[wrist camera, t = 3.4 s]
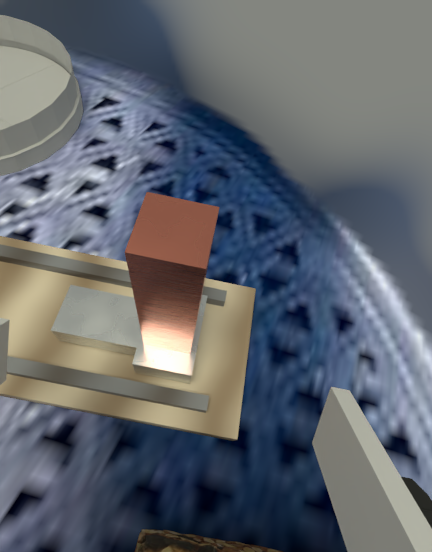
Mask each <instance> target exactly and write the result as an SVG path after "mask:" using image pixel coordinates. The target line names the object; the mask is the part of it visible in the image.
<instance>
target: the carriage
mask: <svg viewBox="0 0 432 552" xmlns="http://www.w3.org/2000/svg"><path fill="white" fill-rule="evenodd" d="M218 211H219V207H216V206H211V205H206V204H202V203H197V202H192V201H187V200H183V199H178V198H173V197H168V196H164V195H159V194H154V193H149V192H147V193H146V196H145V198H144V201H143V204H142V207H141V209H140V212H139V215H138V217H137V220H136V223H135V226H134V228H133V231H132V234H131V237H130V239H129V242H128V245H127V248H126V250H125V256H126V261H127V266H128V270H129V275H130V280H131V285H132V290H133V295H134V297H129V296H124V295H119V294H114V293H109V292H104V291H99V290H94V289H89V288H85V287H80V286H75V285H70V287H69V290H68V292H67V294H66V296H65V299H64V301H63V303H62V306H61V308H60V310H59V312H58V315H57V317H56V319H55V322H54V324H53V326H52V328H51V331H52V333H53V334H54V335H55V336H56V337H57V338H58V339H59V341H63V342H68V343H73V344H78V345H83V346H88V347H93V348H98V349H103V350H108V351H113V352H118V353H123V354H128V355H134V359H133V362H132V365H133V368H134V371H135V373H138V374H143V375H149V376H154V377H159V378H164V379H169V380H174V381H179V382H184V383H189V384H190V380H191V376H192V372H193V367H194V362H195V357H196V352H197V347H198V341H199V336H200V331H201V326H202V321H203V316H204V311H205V306H206V301H207V296H206V295H202V293H203V288H204V283H205V278H206V273H207V267H208V262H209V257H210V252H211V247H212V242H213V237H214V232H215V227H216V221H217V216H218Z"/></svg>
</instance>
